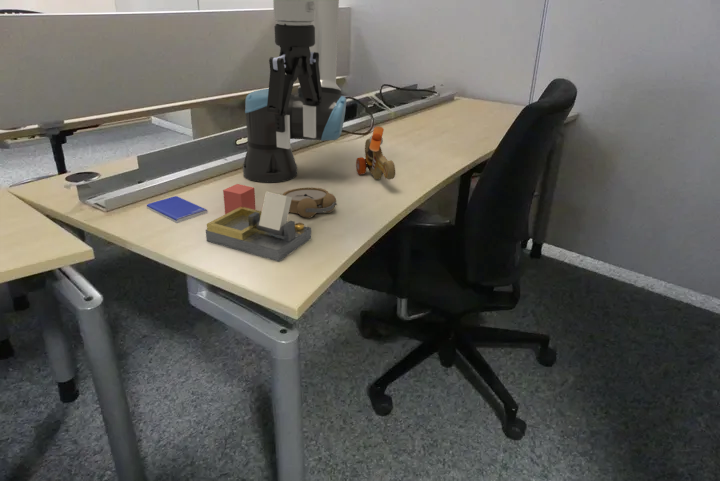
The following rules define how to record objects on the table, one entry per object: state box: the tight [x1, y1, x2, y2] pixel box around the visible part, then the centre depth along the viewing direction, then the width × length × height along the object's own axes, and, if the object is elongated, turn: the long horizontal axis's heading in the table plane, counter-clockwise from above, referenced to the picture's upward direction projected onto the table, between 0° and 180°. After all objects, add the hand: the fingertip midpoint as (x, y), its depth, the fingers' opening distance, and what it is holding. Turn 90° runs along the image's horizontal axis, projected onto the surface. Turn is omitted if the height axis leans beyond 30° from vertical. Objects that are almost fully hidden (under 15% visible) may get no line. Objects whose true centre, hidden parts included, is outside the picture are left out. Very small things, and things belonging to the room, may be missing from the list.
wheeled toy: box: [355, 125, 396, 180], centre depth 142 cm, size 8×21×14 cm, turn 17°
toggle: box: [257, 191, 292, 236], centre depth 105 cm, size 2×6×8 cm, turn 64°
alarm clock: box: [281, 187, 338, 219], centre depth 124 cm, size 11×5×15 cm
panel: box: [205, 207, 312, 262], centre depth 108 cm, size 12×18×6 cm, turn 63°
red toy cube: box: [222, 183, 257, 215], centre depth 120 cm, size 5×5×6 cm
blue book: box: [146, 195, 209, 224], centre depth 122 cm, size 2×8×12 cm
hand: (297, 142), depth 106 cm, fingers open, 9 cm apart
